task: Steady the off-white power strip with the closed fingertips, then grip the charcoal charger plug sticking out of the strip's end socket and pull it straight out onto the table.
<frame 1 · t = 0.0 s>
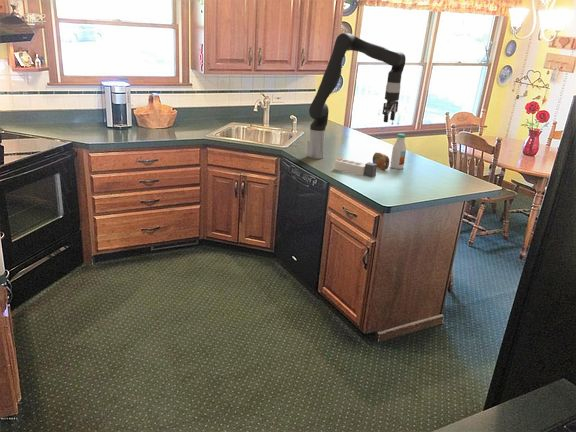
hand: (388, 121, 273), 29 cm above the worktop, tool pointing down, fingers open, 8 cm apart
power strip: (351, 171, 283), on the worktop
charger: (368, 169, 276), point 3 cm above the worktop, slide at 0.0 cm
milk bottle: (396, 167, 296), on the worktop
tin: (380, 168, 293), on the worktop
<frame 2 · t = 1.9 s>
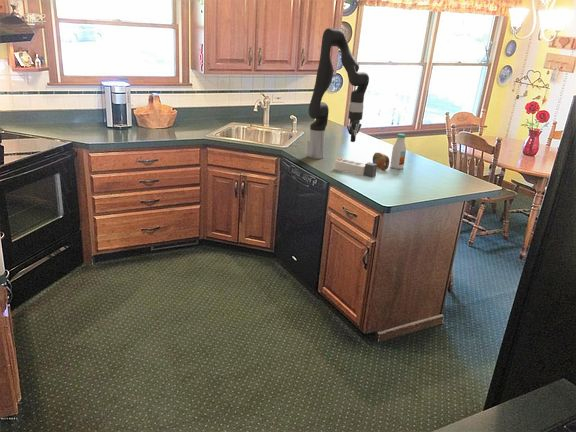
hand: (352, 141, 277), 17 cm above the worktop, tool pointing down, fingers closed
nothing on the worktop moved.
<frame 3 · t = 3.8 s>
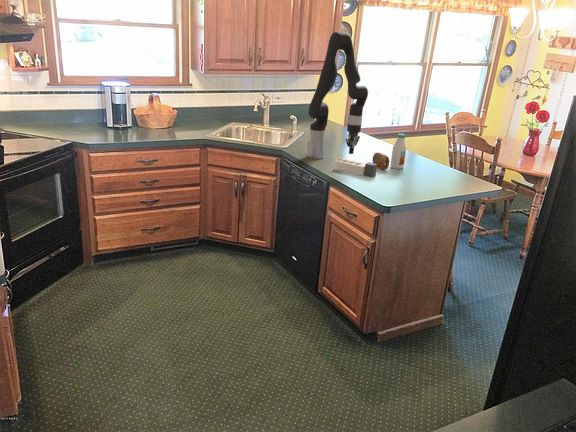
hand: (350, 153, 280), 10 cm above the worktop, tool pointing down, fingers closed
nothing on the worktop moved.
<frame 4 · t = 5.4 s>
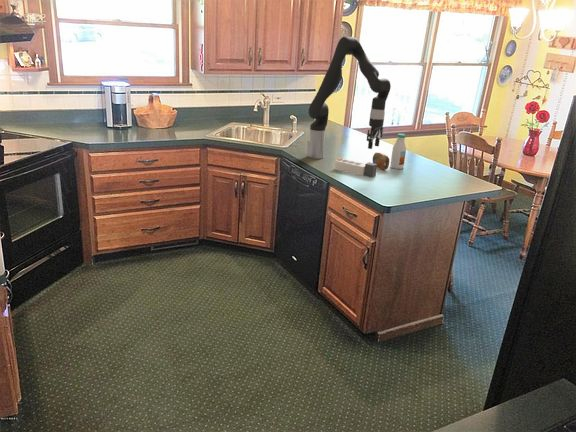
hand: (373, 147, 271), 16 cm above the worktop, tool pointing down, fingers open, 8 cm apart
nothing on the worktop moved.
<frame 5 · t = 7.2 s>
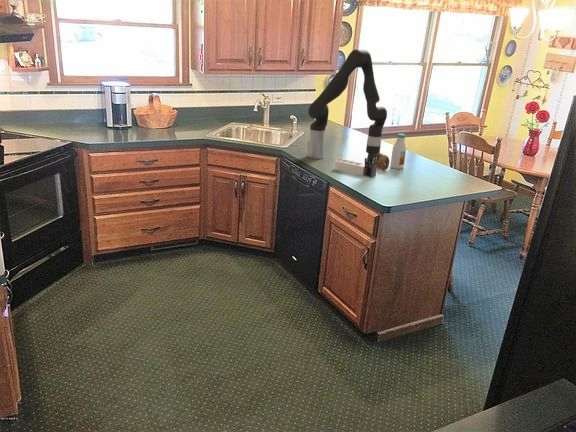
hand: (370, 174, 277), 1 cm above the worktop, tool pointing down, fingers closed on charger, 4 cm apart
charger: (368, 169, 276), point 3 cm above the worktop, slide at 0.0 cm, touching gripper
everything else where it was.
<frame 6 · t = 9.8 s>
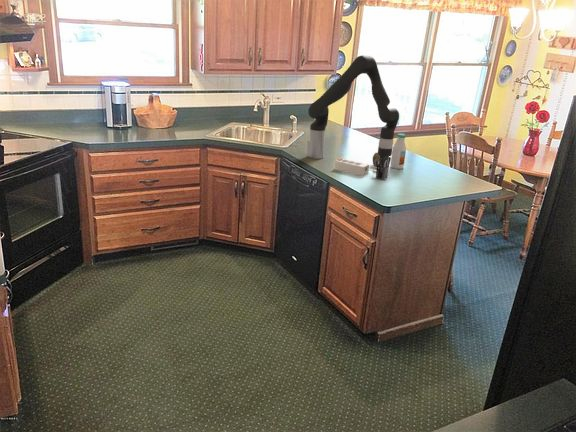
hand: (381, 176, 273), 1 cm above the worktop, tool pointing down, fingers closed on charger, 4 cm apart
charger: (379, 171, 273), point 3 cm above the worktop, slide at 7.0 cm, touching gripper
everything else where it was.
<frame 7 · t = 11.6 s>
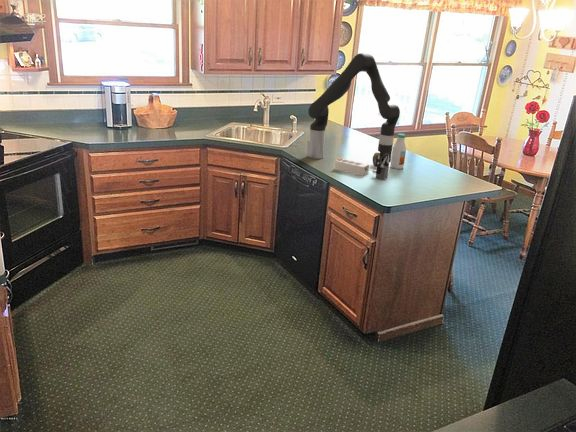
hand: (381, 171, 272), 4 cm above the worktop, tool pointing down, fingers open, 8 cm apart
charger: (379, 171, 273), point 3 cm above the worktop, slide at 7.0 cm
everything else where it was.
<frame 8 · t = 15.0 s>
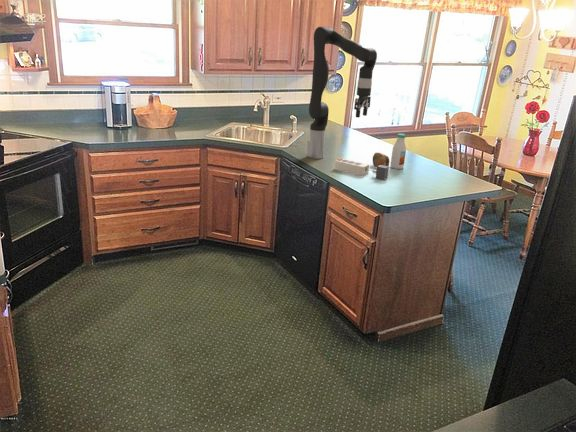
hand: (361, 116, 278), 30 cm above the worktop, tool pointing down, fingers open, 8 cm apart
nothing on the worktop moved.
at the end: charger slide at 7.0 cm; the gripper is holding nothing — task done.
